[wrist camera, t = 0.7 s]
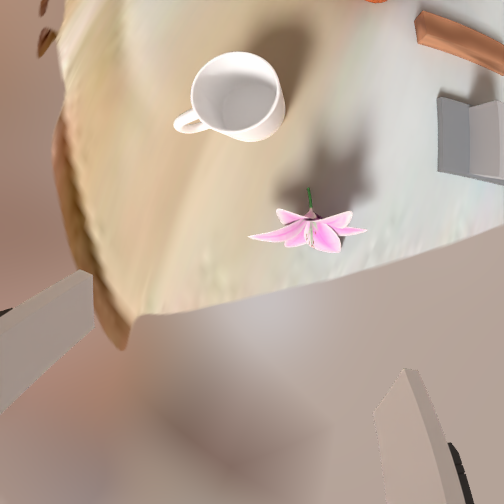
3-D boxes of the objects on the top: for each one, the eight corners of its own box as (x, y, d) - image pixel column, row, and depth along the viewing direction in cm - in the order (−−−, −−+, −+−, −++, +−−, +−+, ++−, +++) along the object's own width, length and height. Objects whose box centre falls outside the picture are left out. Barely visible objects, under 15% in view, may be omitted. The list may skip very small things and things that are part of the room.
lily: (243, 216, 37) (239, 273, 31) (282, 139, 30) (290, 186, 23) (322, 243, 40) (333, 298, 34) (369, 179, 33) (396, 231, 26)
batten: (413, 22, 24) (422, 10, 21) (497, 54, 22) (510, 48, 18) (417, 44, 26) (427, 33, 22) (501, 76, 23) (515, 71, 19)
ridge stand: (436, 98, 27) (467, 84, 19) (500, 119, 26) (534, 114, 17) (437, 171, 30) (470, 174, 22) (500, 185, 28) (535, 192, 20)
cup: (296, 129, 32) (294, 114, 23) (206, 163, 35) (172, 163, 26) (271, 71, 30) (260, 39, 21) (185, 107, 33) (147, 90, 24)
